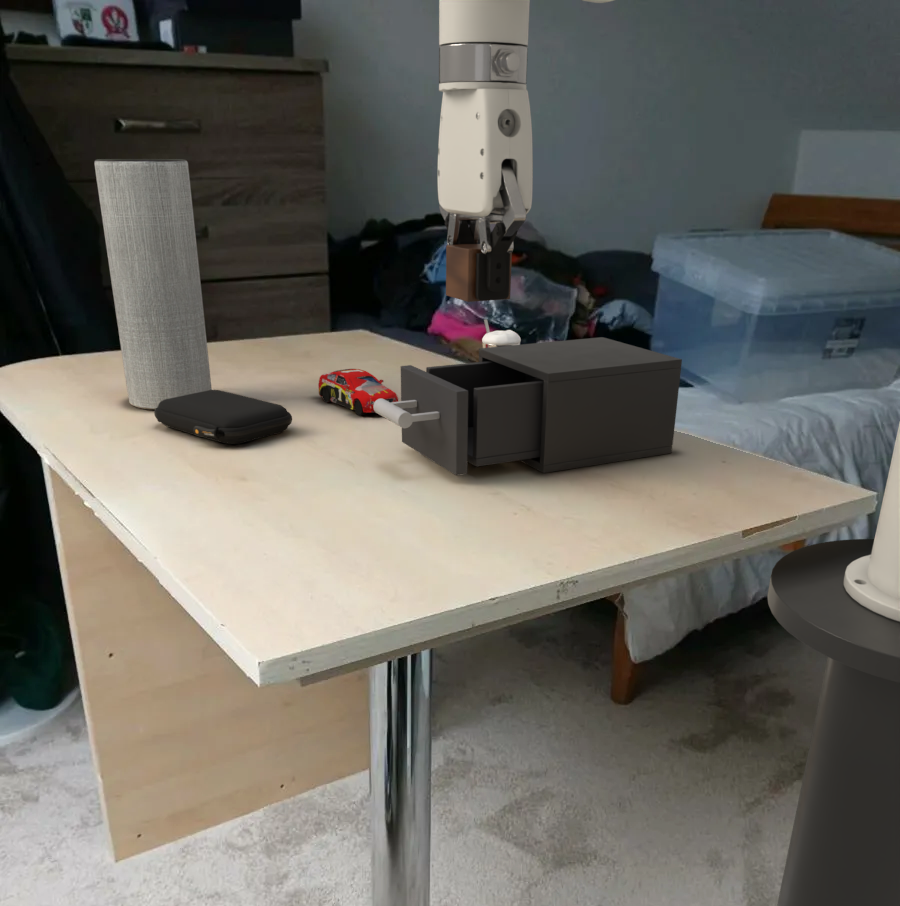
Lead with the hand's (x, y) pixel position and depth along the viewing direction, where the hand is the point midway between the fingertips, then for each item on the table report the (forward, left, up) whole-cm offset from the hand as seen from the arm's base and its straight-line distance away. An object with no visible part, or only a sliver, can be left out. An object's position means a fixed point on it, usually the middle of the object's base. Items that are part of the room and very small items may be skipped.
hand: (478, 293), depth 88 cm
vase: (+38, +22, -16) cm, 47 cm away
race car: (+26, +2, -16) cm, 31 cm away
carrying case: (+22, +20, -16) cm, 34 cm away
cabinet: (0, -12, -16) cm, 20 cm away
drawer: (0, 0, -15) cm, 15 cm away
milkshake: (+18, -13, -16) cm, 27 cm away
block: (0, 0, 0) cm, 0 cm away
